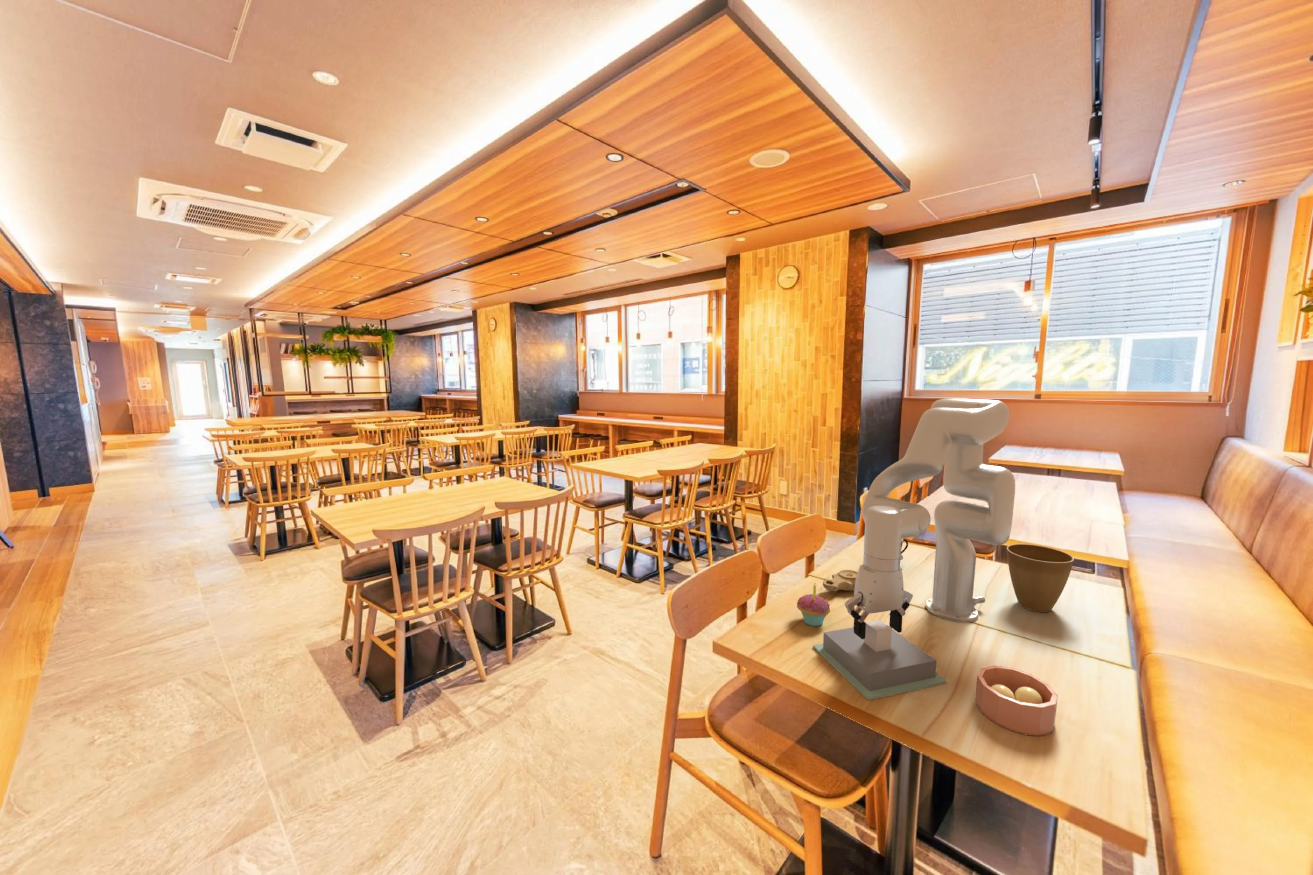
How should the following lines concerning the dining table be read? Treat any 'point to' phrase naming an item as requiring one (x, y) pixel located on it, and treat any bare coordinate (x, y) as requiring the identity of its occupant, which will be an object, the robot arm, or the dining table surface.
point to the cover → (879, 656)
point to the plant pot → (1038, 575)
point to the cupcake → (813, 608)
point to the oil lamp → (841, 581)
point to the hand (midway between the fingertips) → (877, 632)
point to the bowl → (1016, 700)
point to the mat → (880, 692)
